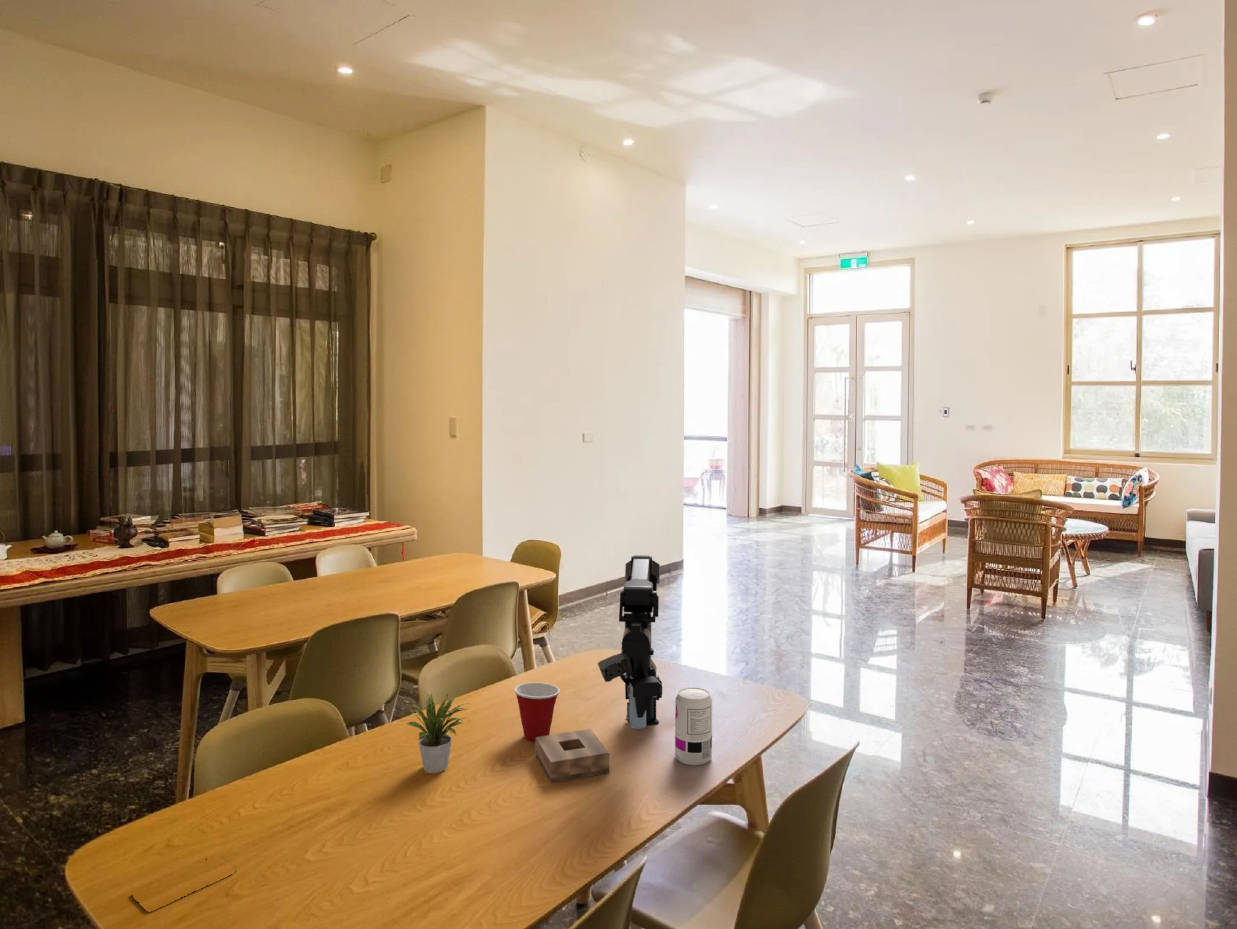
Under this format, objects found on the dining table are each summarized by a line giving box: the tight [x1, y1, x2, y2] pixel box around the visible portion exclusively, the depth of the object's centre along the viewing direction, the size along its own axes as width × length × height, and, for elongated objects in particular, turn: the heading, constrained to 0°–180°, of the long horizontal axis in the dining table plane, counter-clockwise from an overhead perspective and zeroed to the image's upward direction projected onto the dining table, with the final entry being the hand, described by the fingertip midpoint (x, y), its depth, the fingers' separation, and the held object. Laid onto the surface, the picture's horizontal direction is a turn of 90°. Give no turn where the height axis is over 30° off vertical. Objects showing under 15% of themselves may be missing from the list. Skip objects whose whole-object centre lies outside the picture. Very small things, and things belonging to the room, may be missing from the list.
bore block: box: [535, 728, 610, 784], centre depth 171 cm, size 13×13×4 cm
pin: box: [629, 694, 647, 730], centre depth 168 cm, size 4×4×8 cm
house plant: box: [406, 693, 470, 774], centre depth 168 cm, size 14×14×16 cm
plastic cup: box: [514, 681, 561, 743], centre depth 185 cm, size 11×11×12 cm
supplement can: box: [674, 687, 713, 766], centre depth 174 cm, size 8×8×15 cm
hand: (637, 713), depth 168 cm, fingers closed on pin, 4 cm apart
